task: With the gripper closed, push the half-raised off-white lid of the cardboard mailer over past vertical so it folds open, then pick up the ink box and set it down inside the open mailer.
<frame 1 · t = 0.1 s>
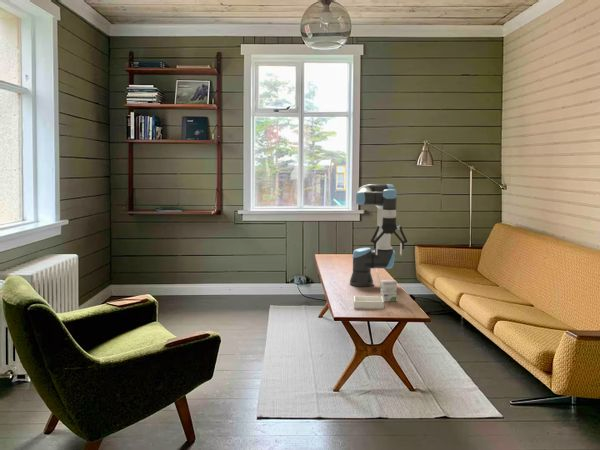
hand: (388, 254, 350), 28 cm above the table, fingers open, 13 cm apart
ink box: (388, 300, 361), on the table
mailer: (368, 305, 349), on the table
lid: (380, 284, 347), point 12 cm above the table, hinge at 75.0°
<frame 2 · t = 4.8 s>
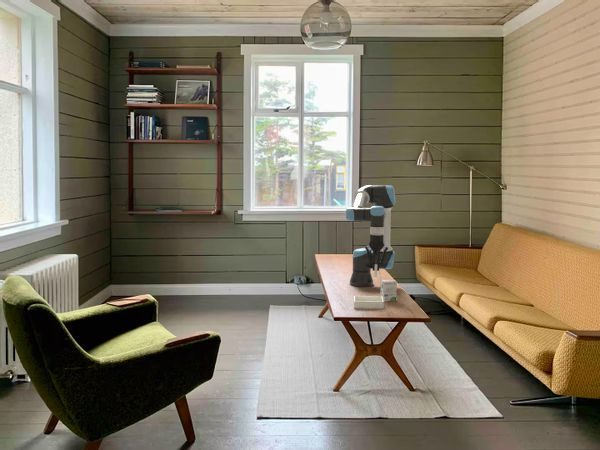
hand: (375, 276, 346), 17 cm above the table, fingers closed
lid: (381, 283, 347), point 13 cm above the table, hinge at 79.7°, touching gripper
everything else where it was.
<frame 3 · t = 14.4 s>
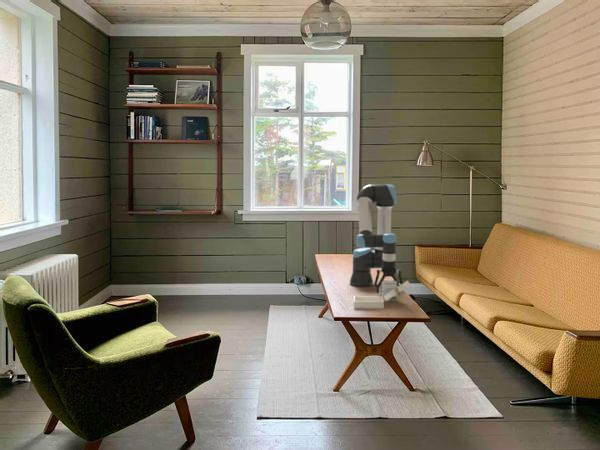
hand: (388, 298, 361), 1 cm above the table, fingers closed on ink box, 9 cm apart
ink box: (388, 300, 361), on the table, touching gripper
lid: (396, 290, 346), point 9 cm above the table, hinge at 146.5°
when the fingers open (4 cm above the table, at t = 22.1 s): ink box moves 1 cm, resting on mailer.
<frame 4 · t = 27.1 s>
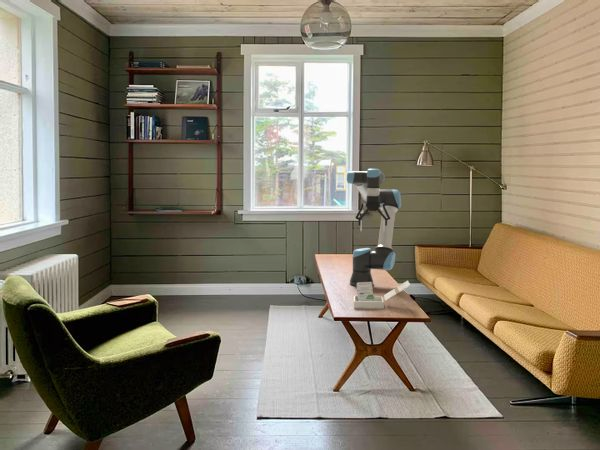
hand: (372, 231, 368), 39 cm above the table, fingers open, 13 cm apart
ink box: (366, 301, 348), point 2 cm above the table, touching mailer
everything else where it was.
at the end: lid at +146° (first picture: +75°); ink box inside the target area on the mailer (1.3 cm from its centre), point 2.4 cm above the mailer's base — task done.
